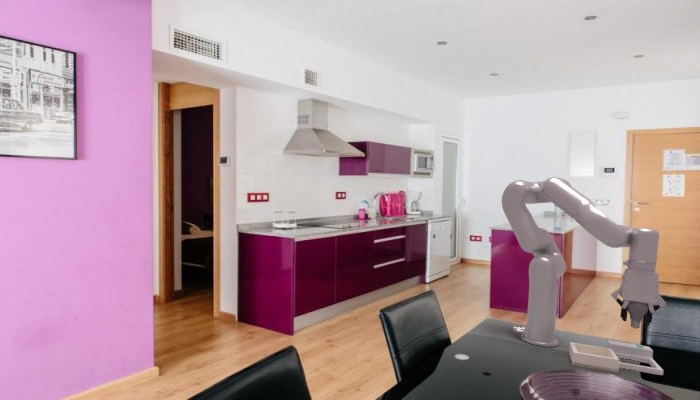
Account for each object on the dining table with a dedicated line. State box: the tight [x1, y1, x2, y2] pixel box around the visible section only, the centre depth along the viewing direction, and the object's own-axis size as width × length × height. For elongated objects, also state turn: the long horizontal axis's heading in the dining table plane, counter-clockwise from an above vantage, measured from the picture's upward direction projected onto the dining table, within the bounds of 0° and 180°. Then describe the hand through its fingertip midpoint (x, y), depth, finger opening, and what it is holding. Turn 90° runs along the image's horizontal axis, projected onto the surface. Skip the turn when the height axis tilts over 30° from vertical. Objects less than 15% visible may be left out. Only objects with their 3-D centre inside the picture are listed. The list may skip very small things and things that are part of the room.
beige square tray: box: [568, 341, 620, 374], centre depth 147 cm, size 12×12×4 cm
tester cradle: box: [606, 340, 664, 376], centre depth 150 cm, size 12×17×5 cm
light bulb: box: [627, 301, 648, 330], centre depth 148 cm, size 6×6×10 cm
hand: (635, 321), depth 148 cm, fingers closed on light bulb, 5 cm apart
